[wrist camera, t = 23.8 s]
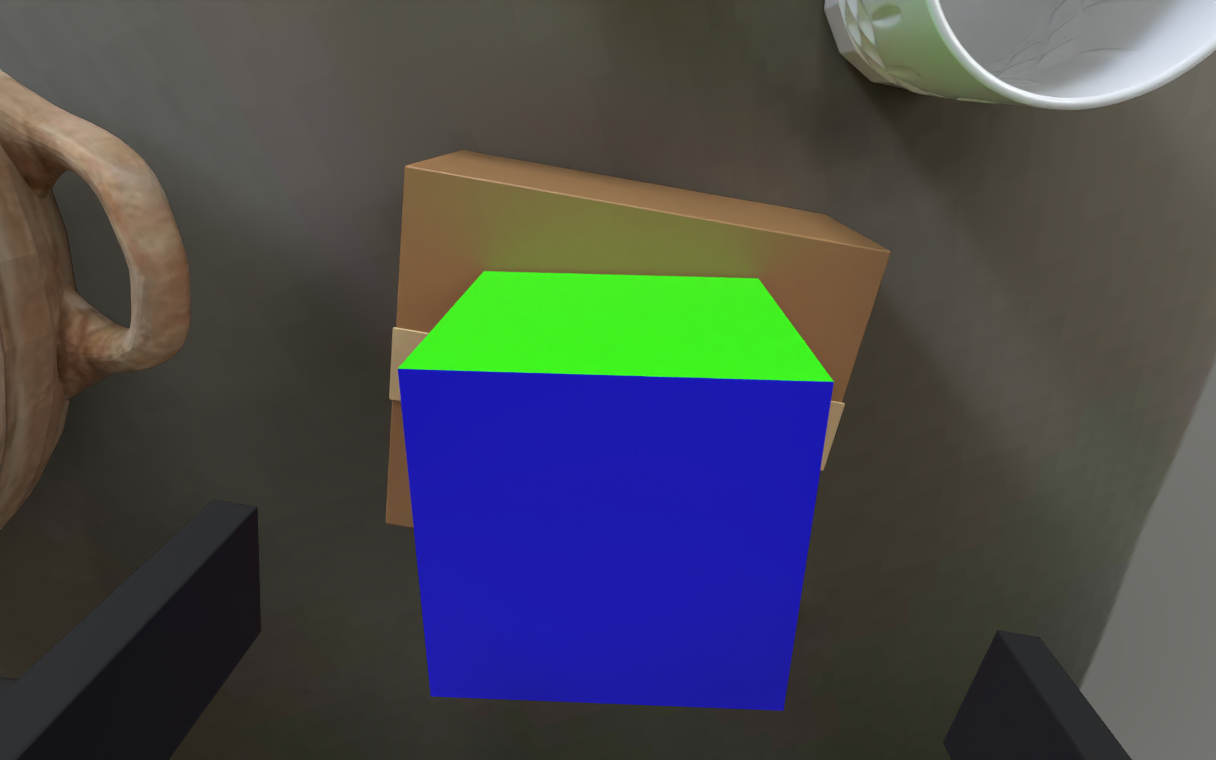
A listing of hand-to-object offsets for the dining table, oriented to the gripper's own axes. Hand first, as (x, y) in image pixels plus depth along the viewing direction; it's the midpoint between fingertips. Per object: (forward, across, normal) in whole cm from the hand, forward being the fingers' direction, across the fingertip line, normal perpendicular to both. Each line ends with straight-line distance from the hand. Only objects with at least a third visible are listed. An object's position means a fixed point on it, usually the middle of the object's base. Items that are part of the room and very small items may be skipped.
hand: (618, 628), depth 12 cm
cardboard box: (+17, 0, 0) cm, 17 cm away
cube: (+10, 0, 0) cm, 10 cm away
